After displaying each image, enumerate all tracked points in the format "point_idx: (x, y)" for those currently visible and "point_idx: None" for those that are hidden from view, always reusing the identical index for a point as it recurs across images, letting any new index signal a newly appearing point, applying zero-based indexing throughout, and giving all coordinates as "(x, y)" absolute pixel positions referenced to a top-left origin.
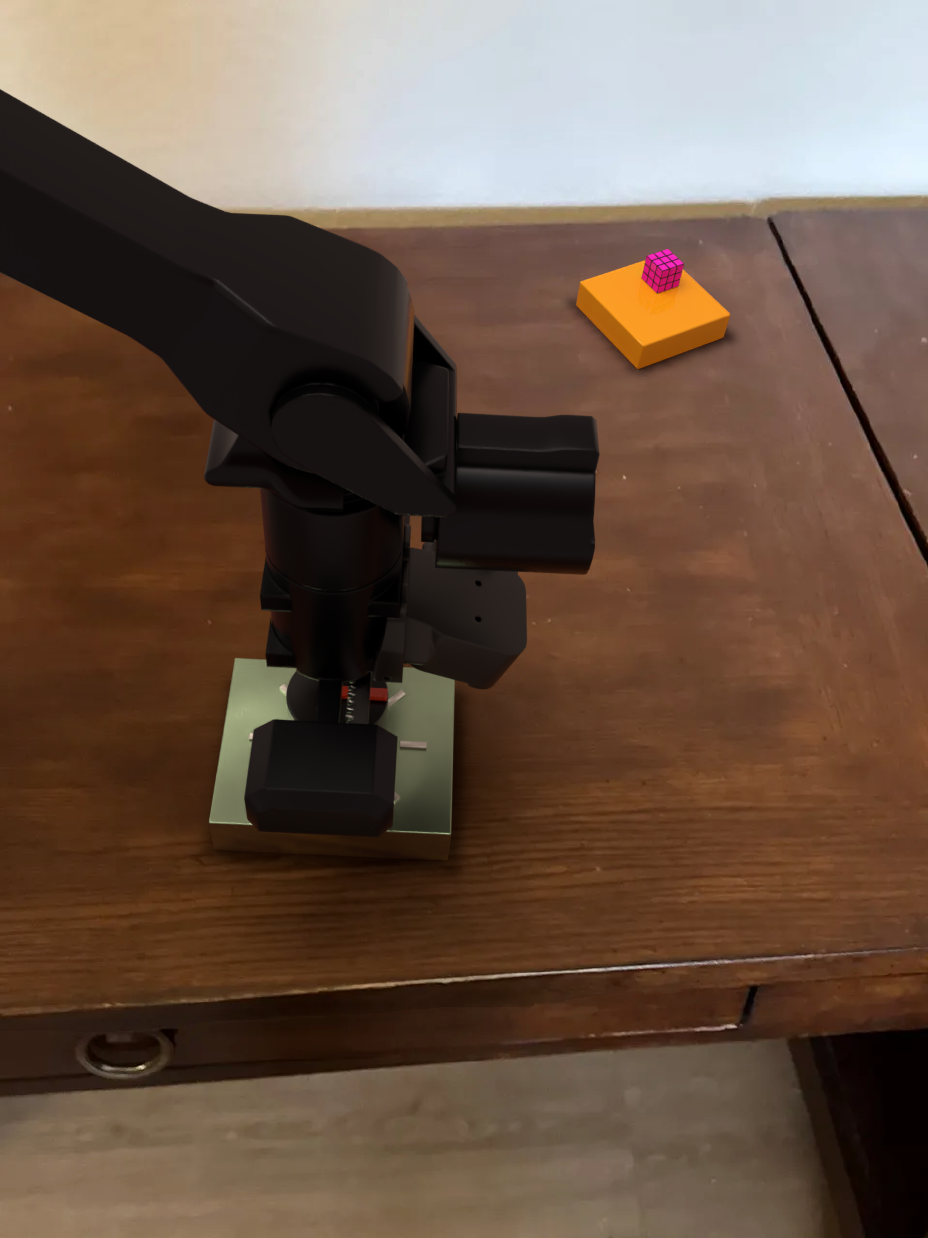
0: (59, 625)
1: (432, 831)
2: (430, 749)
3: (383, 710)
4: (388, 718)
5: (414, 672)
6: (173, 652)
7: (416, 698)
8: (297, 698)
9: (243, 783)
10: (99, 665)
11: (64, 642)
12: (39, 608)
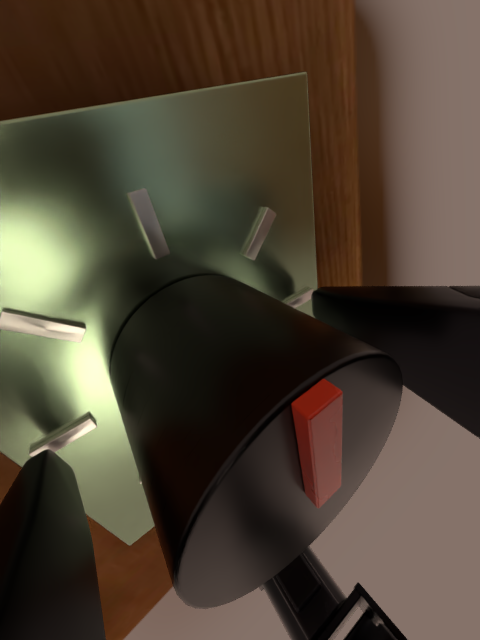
0: (137, 597)
1: (308, 118)
2: (137, 177)
3: (347, 361)
4: (107, 310)
5: None
6: (108, 544)
7: None
8: (332, 511)
9: None
10: (159, 550)
11: (152, 579)
12: (130, 616)
